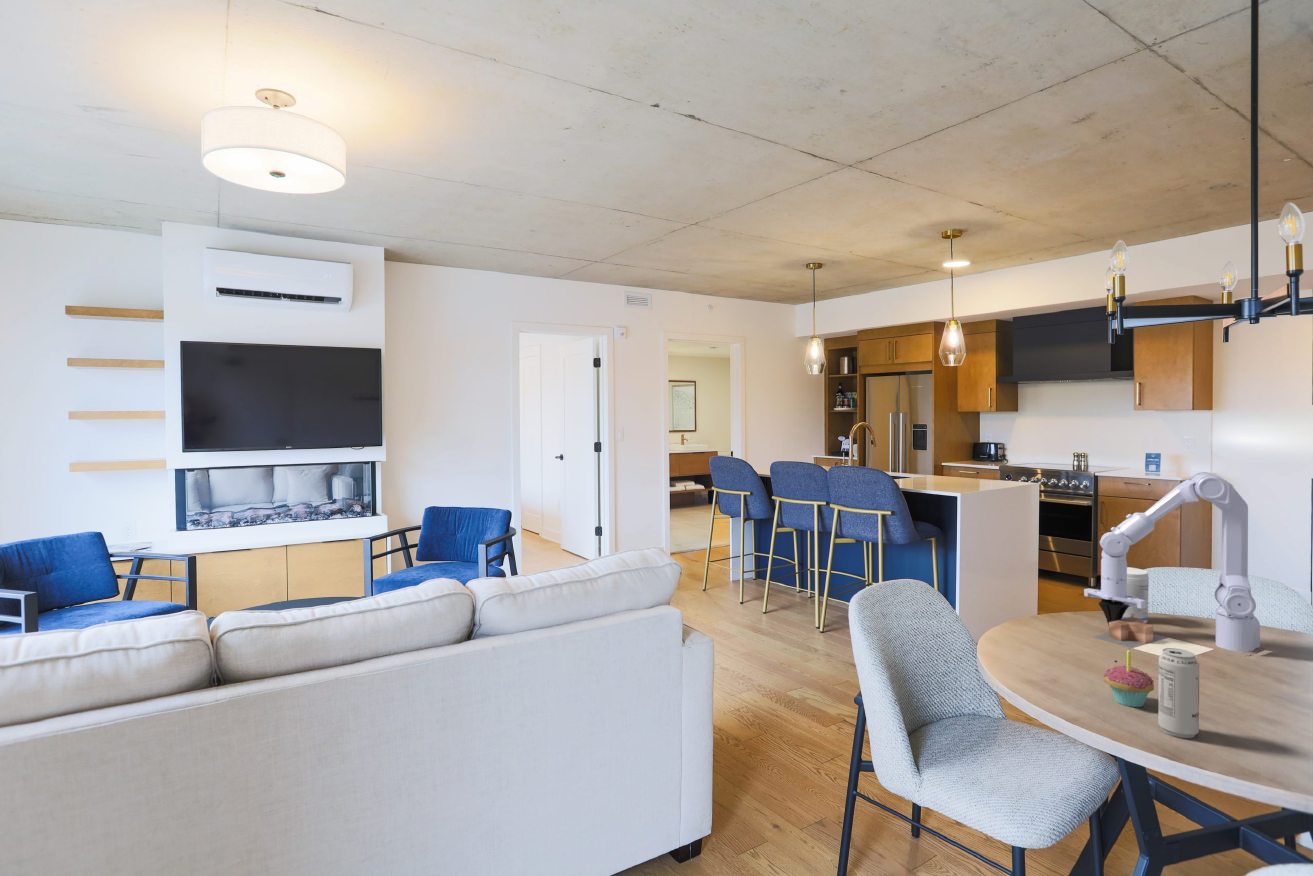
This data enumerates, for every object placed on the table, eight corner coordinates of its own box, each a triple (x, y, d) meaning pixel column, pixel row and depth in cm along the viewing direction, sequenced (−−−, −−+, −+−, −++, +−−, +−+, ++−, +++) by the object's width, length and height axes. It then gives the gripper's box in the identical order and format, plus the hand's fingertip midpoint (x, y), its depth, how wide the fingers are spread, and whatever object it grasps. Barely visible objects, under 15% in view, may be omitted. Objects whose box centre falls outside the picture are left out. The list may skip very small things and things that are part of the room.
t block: (1108, 637, 178) (1108, 622, 178) (1131, 631, 183) (1131, 616, 182) (1137, 645, 172) (1137, 629, 172) (1160, 639, 176) (1160, 623, 176)
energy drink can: (1203, 742, 124) (1204, 660, 123) (1163, 736, 126) (1163, 655, 126) (1193, 728, 129) (1193, 649, 129) (1154, 722, 132) (1154, 645, 131)
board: (1127, 630, 186) (1127, 627, 186) (1214, 652, 168) (1214, 649, 168) (1091, 639, 179) (1091, 636, 179) (1178, 664, 161) (1178, 660, 161)
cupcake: (1155, 714, 135) (1156, 654, 135) (1104, 705, 140) (1104, 647, 139) (1152, 698, 142) (1152, 641, 142) (1103, 690, 147) (1103, 635, 146)
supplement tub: (1101, 621, 195) (1101, 569, 194) (1114, 614, 201) (1114, 564, 200) (1141, 629, 187) (1141, 575, 187) (1153, 622, 193) (1153, 570, 192)
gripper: (1077, 574, 186) (1077, 624, 186) (1134, 585, 173) (1134, 639, 173) (1093, 571, 189) (1093, 620, 190) (1150, 582, 176) (1150, 634, 177)
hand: (1113, 629), depth 182 cm, fingers closed
